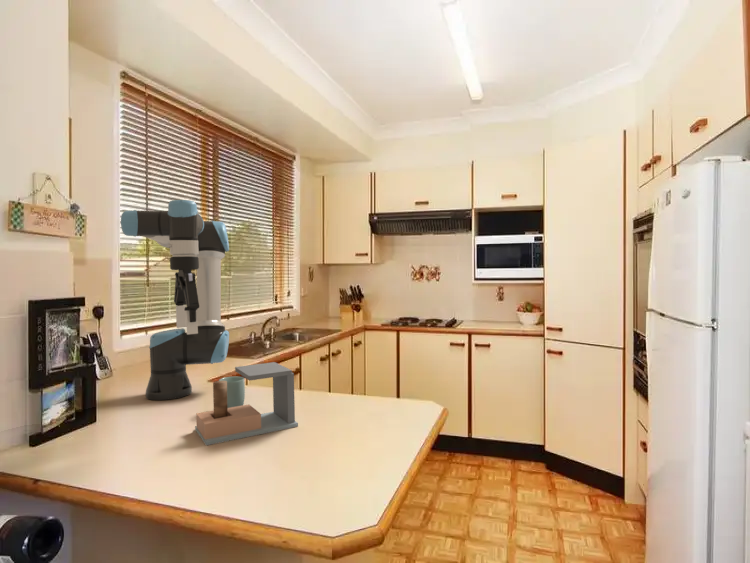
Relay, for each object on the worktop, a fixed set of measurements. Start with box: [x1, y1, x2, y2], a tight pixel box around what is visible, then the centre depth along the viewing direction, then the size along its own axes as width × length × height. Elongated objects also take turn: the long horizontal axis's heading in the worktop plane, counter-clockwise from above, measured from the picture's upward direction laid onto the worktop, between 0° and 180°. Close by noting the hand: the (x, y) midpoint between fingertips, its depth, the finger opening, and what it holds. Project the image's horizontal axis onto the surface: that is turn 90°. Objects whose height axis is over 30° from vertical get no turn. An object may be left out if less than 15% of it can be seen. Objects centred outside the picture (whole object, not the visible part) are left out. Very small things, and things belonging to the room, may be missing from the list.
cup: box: [218, 376, 246, 408], centre depth 147 cm, size 8×8×10 cm
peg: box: [212, 380, 228, 419], centre depth 127 cm, size 4×4×12 cm
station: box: [194, 361, 299, 446], centre depth 130 cm, size 14×25×16 cm, turn 122°
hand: (186, 330), depth 132 cm, fingers open, 13 cm apart
